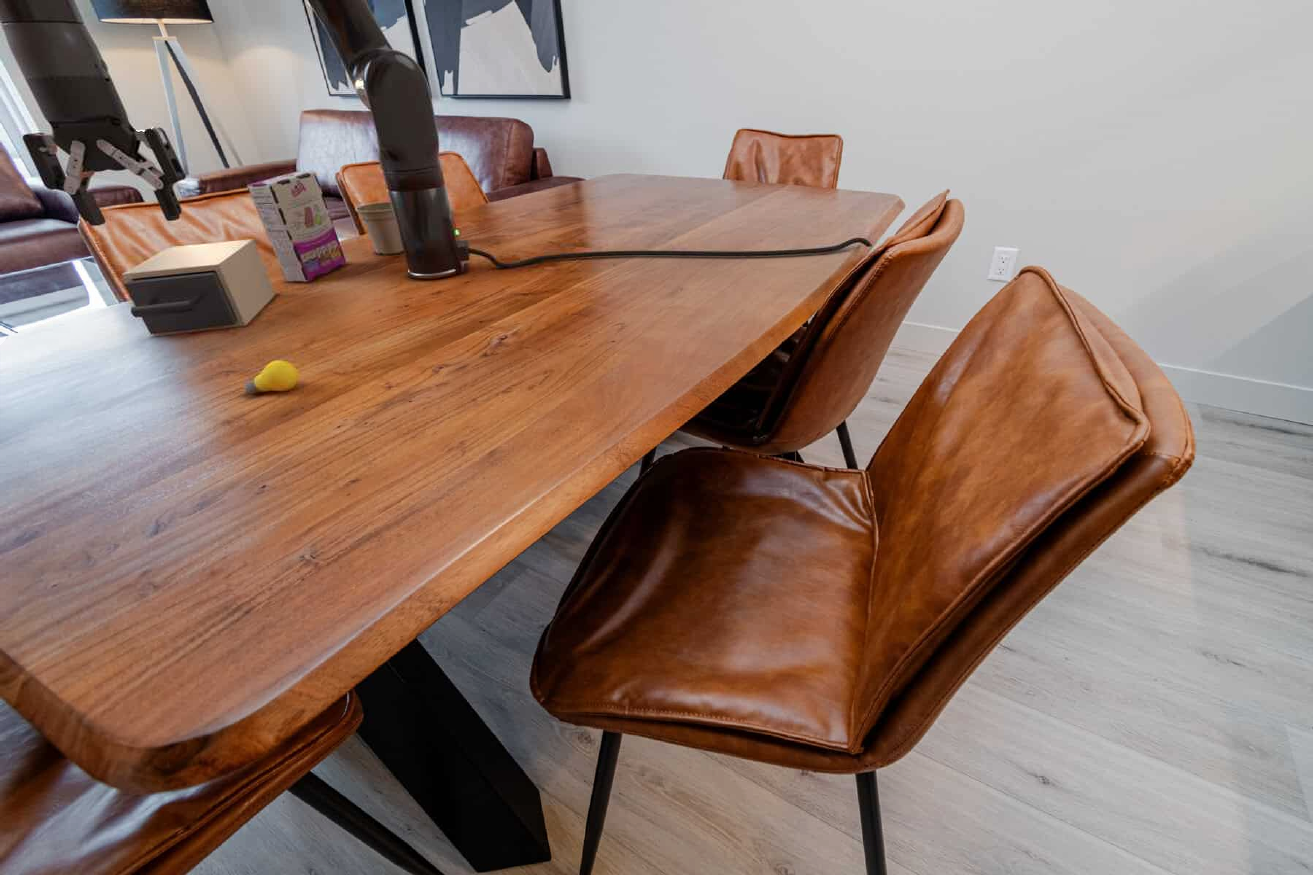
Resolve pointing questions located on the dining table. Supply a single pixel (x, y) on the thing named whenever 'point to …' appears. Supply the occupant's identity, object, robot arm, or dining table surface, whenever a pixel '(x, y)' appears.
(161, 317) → the drawer
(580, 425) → the dining table surface
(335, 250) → the candy bar box
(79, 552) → the dining table surface
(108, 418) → the dining table surface
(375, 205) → the flower pot
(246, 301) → the cabinet
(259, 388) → the light bulb
